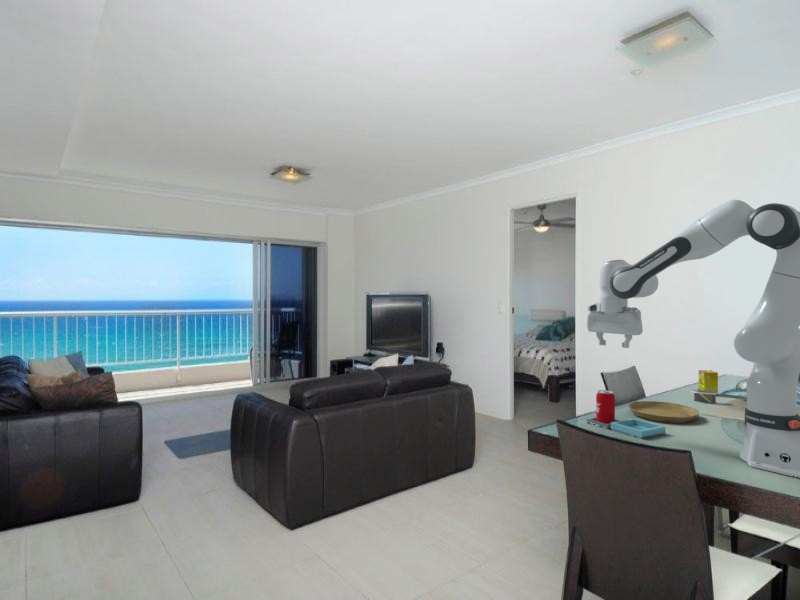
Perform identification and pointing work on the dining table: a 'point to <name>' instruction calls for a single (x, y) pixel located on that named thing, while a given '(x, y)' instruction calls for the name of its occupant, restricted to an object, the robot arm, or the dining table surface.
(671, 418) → the plant saucer
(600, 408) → the beverage can
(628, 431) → the tray
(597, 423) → the socket
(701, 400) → the platform
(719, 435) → the dining table surface
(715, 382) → the supplement box
